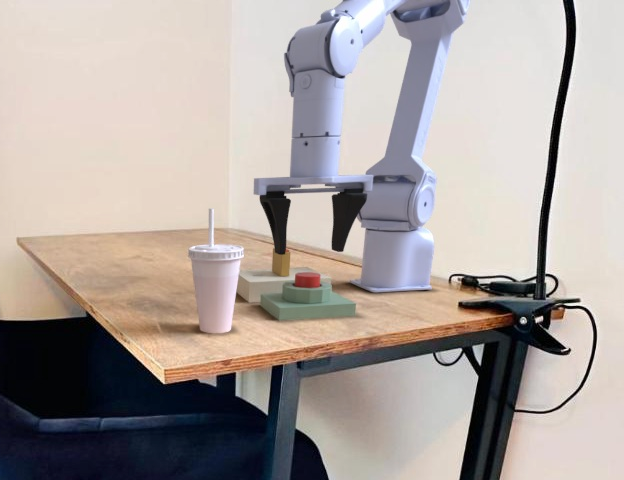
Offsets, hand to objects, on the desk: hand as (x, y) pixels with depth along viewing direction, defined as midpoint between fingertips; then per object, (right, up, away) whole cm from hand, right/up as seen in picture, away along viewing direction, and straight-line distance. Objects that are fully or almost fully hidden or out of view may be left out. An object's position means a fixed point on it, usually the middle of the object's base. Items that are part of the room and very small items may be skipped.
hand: (308, 252), depth 70 cm
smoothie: (-12, -10, -4) cm, 17 cm away
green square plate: (0, -7, +3) cm, 8 cm away
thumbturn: (-1, -1, +11) cm, 11 cm away
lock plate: (-1, -4, +12) cm, 13 cm away
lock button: (0, -4, +1) cm, 5 cm away
